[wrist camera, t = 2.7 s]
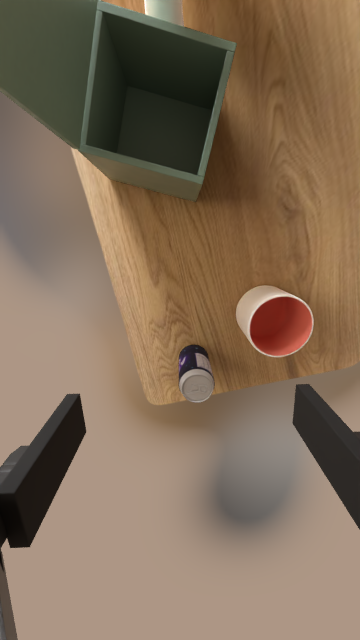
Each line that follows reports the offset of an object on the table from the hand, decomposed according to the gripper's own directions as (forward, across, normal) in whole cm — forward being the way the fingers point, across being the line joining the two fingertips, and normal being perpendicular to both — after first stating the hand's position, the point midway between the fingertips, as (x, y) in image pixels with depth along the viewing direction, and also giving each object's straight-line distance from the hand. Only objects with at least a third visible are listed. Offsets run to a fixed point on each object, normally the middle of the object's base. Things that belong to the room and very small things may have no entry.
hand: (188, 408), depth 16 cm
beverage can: (+34, +2, -12) cm, 36 cm away
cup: (+34, +15, -3) cm, 37 cm away
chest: (+34, -2, +25) cm, 42 cm away
